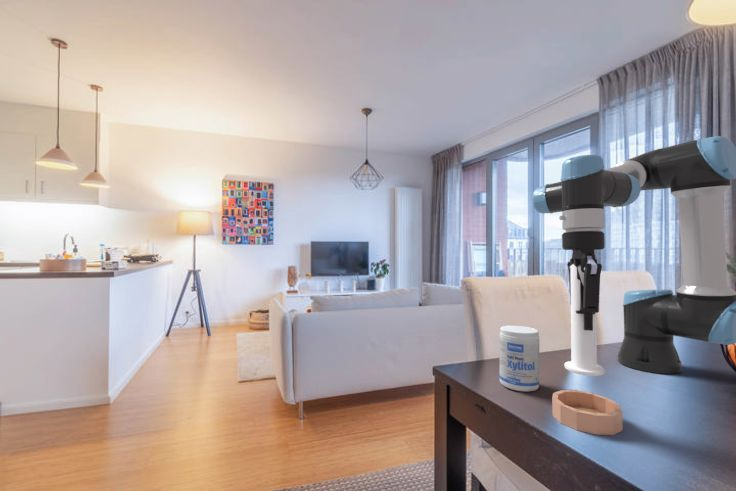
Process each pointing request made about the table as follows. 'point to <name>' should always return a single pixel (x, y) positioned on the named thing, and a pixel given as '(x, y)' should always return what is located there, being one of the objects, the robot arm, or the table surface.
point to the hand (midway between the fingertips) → (584, 343)
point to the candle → (581, 334)
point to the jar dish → (587, 412)
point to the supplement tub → (519, 358)
